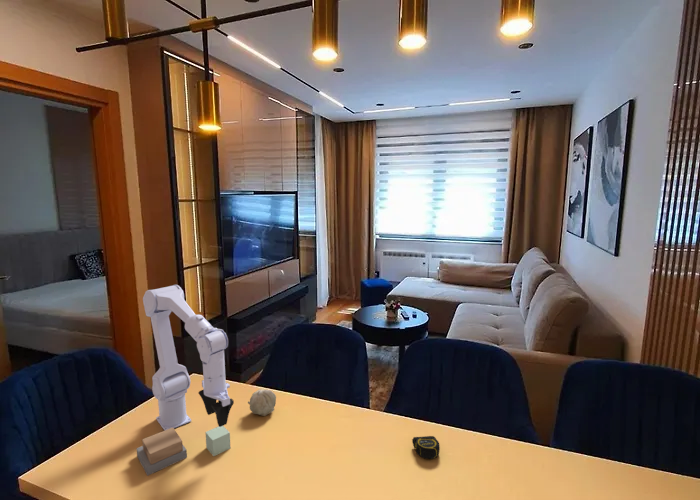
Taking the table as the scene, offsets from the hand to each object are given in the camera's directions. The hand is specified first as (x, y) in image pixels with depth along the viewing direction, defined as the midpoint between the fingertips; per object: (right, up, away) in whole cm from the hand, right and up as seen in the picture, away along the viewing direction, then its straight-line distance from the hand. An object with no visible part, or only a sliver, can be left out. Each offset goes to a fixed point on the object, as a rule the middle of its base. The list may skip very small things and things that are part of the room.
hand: (216, 418), depth 105 cm
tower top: (-14, -7, -3) cm, 16 cm away
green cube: (0, -9, +1) cm, 9 cm away
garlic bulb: (+8, -7, +19) cm, 21 cm away
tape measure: (+59, -10, 0) cm, 60 cm away
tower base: (-14, -10, -2) cm, 18 cm away
